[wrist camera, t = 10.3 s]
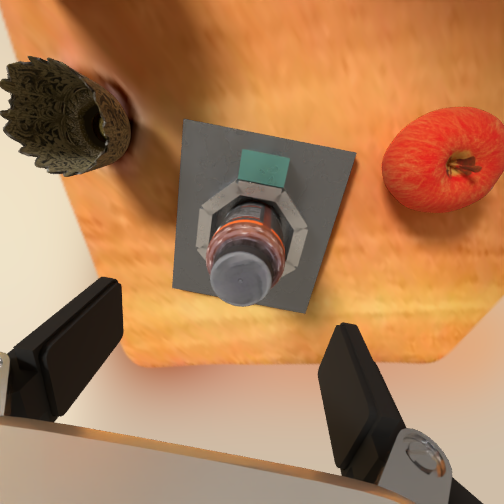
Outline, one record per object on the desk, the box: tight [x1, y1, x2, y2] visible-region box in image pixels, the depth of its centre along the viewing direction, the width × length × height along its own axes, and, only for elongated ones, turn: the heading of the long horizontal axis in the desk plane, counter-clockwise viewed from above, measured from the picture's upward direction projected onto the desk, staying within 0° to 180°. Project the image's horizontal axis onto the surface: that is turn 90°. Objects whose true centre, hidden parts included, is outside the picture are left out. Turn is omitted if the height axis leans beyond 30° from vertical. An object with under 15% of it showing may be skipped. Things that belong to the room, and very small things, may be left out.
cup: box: [0, 56, 131, 177], centre depth 21 cm, size 8×7×8 cm
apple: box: [382, 107, 504, 213], centre depth 20 cm, size 8×8×8 cm
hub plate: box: [172, 119, 356, 314], centre depth 25 cm, size 18×16×4 cm
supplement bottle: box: [206, 200, 285, 307], centre depth 21 cm, size 6×6×11 cm
